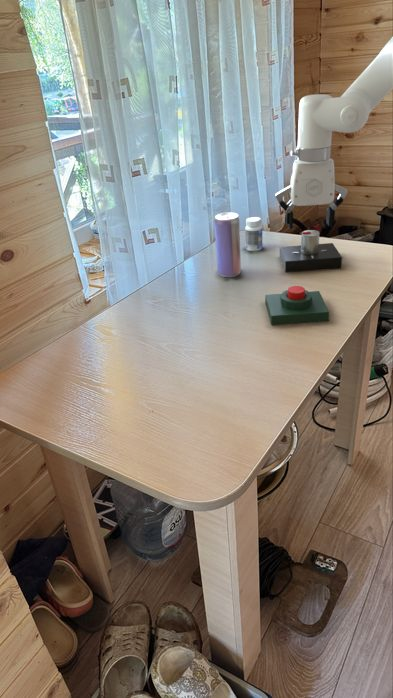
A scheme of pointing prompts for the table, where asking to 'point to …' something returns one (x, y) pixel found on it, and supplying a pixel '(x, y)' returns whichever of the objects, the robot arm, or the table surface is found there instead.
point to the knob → (310, 242)
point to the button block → (296, 308)
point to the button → (296, 293)
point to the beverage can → (228, 244)
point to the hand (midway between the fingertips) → (309, 225)
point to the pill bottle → (253, 234)
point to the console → (310, 258)
